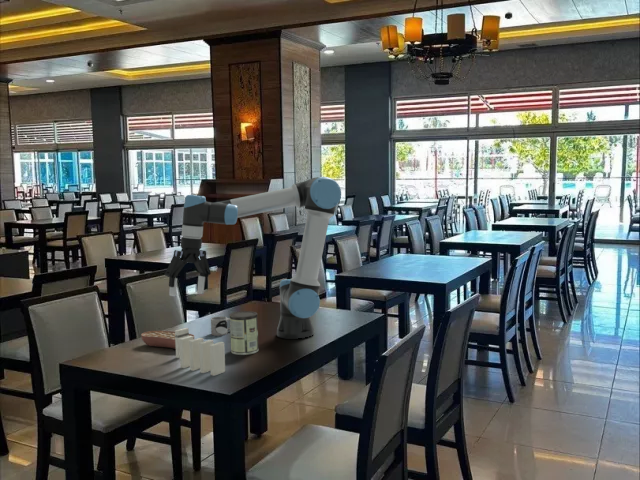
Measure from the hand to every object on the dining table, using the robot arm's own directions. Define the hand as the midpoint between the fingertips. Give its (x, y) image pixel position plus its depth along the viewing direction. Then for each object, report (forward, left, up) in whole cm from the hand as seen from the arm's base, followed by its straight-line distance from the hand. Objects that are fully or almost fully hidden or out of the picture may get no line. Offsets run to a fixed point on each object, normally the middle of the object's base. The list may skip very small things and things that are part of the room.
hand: (186, 294), depth 232 cm
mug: (-4, -30, -22) cm, 38 cm away
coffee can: (-20, -3, -22) cm, 30 cm away
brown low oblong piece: (+11, -8, -22) cm, 26 cm away
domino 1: (+1, +5, -22) cm, 22 cm away
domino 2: (-5, +16, -22) cm, 28 cm away
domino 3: (-9, +19, -22) cm, 30 cm away
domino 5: (-18, +24, -22) cm, 37 cm away
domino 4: (-14, +21, -22) cm, 33 cm away
